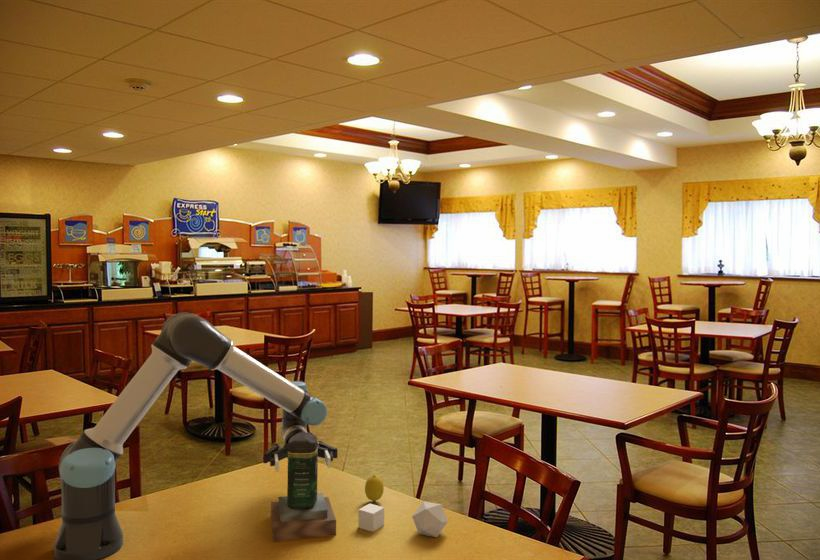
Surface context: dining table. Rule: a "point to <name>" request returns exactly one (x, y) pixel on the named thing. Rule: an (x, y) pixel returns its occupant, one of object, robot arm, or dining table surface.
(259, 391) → the robot arm
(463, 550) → the dining table surface
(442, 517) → the die
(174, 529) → the dining table surface
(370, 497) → the lemon
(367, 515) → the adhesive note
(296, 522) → the tower stand
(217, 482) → the dining table surface
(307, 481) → the coffee jar
